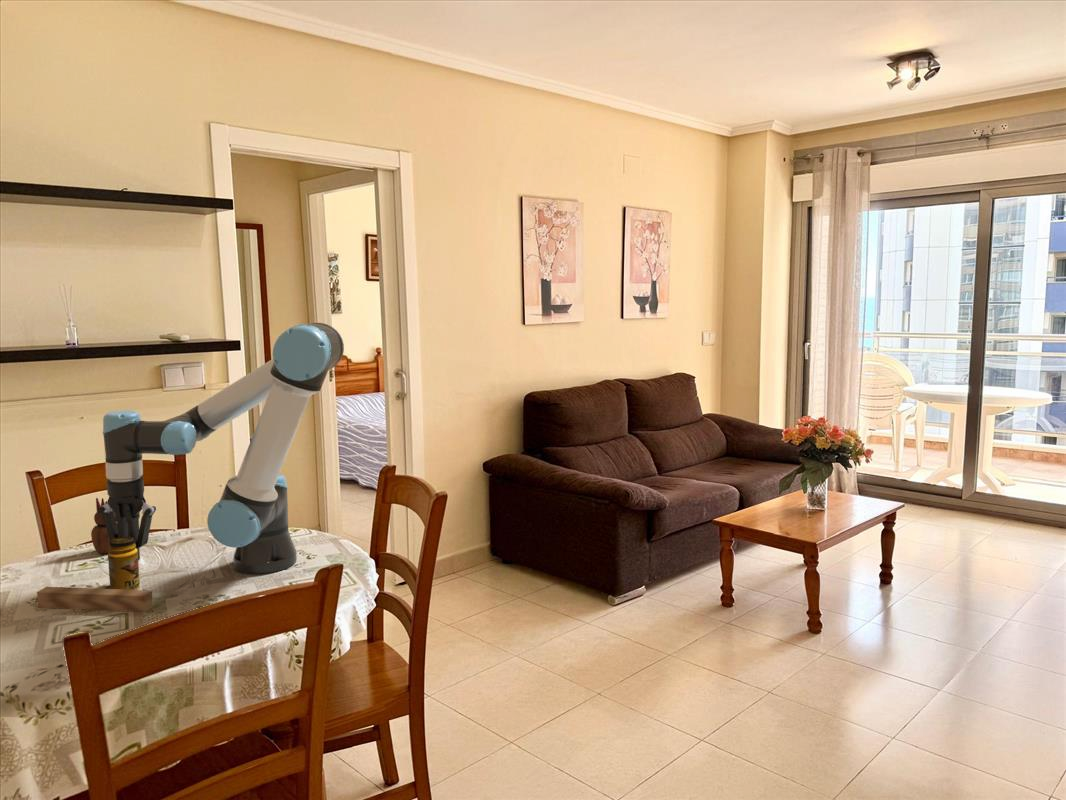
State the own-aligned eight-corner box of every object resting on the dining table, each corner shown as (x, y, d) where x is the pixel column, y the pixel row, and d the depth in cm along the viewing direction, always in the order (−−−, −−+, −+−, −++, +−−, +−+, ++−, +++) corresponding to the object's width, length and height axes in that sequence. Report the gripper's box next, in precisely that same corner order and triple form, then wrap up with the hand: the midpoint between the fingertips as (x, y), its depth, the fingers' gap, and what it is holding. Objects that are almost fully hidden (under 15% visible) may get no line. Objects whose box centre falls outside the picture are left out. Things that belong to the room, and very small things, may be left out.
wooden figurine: (95, 557, 192) (91, 501, 190) (90, 551, 197) (86, 496, 194) (124, 551, 197) (120, 496, 195) (119, 545, 201) (115, 491, 199)
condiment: (143, 591, 172) (139, 541, 170) (100, 599, 167) (96, 548, 166) (140, 580, 178) (137, 532, 176) (99, 588, 174) (95, 538, 172)
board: (153, 605, 165) (152, 590, 164) (145, 611, 162) (144, 596, 161) (47, 601, 166) (46, 586, 165) (38, 607, 163) (36, 592, 162)
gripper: (161, 474, 177) (166, 569, 181) (108, 472, 178) (114, 567, 181) (142, 483, 169) (148, 582, 173) (87, 480, 170) (94, 579, 174)
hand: (131, 574), depth 177 cm, fingers closed
